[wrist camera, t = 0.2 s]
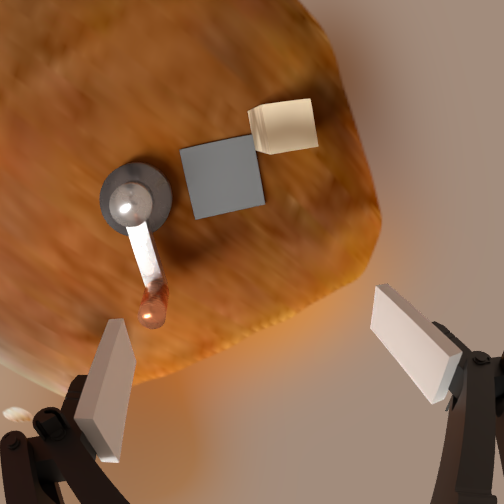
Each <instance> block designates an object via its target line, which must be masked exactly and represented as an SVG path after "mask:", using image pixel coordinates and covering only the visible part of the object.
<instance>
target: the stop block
mask: <svg viewBox="0 0 504 504" xmlns="http://www.w3.org/2000/svg"><path fill="white" fill-rule="evenodd" d="M248 116H249V121H250V127H251V132H252V135H253V140H254V146H255V150H256V151H260V152H263V153H267V154H276V153H282V152H287V151H293V150H300V149H306V148H312V147H318V141H317V135H316V128H315V122H314V116H313V111H312V105H311V99H301V100H292V101H284V102H277V103H270V104H263V105H260V106H258V107H255V108H253V109H251V110H249V111H248Z"/></svg>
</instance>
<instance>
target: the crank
mask: <svg viewBox="0 0 504 504" xmlns="http://www.w3.org/2000/svg"><path fill="white" fill-rule="evenodd" d="M154 203H155V200H154V195H153V192H152V190H151V189H150V188H149V186H147V185H146V184H145V183H143V182H140V181H135V180H133V181H128V182H126V183H124V184H122V185H121V186H119V187H118V188H117V189H116V190H115V191H114V192H113V193H112V195H111V198H110V202H109V209H110V212H111V215H112V217H113V218H114V219H115V221H116V222H118V223H119V224H121V225H122V226H125V227H126V228H127V231H128V234H129V238H130V241H131V244H132V247H133V251H134V254H135V257H136V260H137V263H138V266H139V269H140V272H141V275H142V278H143V281H144V284H145V287H146V288H145V291H144V295H143V298H142V301H141V305H140V308H139V312H138V319H139V322H140V323H141V324H142V325H143V326H144V327H146V328H149V329H156V328H159V327H161V326H162V325H163V324H164V322H165V318H166V311H167V303H168V297H169V289H168V287H167V279H166V276H165V273H164V270H163V267H162V263H161V260H160V257H159V253H158V250H157V247H156V243H155V240H154V236H153V233H152V229H151V226H150V222H149V219H148V217H149V216H150V214H151V212H152V210H153V208H154Z"/></svg>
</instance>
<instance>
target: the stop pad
mask: <svg viewBox="0 0 504 504" xmlns="http://www.w3.org/2000/svg"><path fill="white" fill-rule="evenodd" d="M180 155H181V160H182V164H183V169H184V173H185V177H186V182H187V186H188V191H189V195H190V199H191V203H192V208H193V212H194V216H195V220H197V219H201V218H206V217H210V216H214V215H219V214H223V213H227V212H232V211H236V210H241V209H246V208H250V207H255V206H259V205H264V204H265V201H264V195H263V189H262V184H261V178H260V173H259V167H258V162H257V157H256V151H255V146H254V140H253V135H247V136H241V137H236V138H231V139H226V140H221V141H216V142H212V143H207V144H202V145H198V146H194V147H189V148H185V149H181V150H180Z"/></svg>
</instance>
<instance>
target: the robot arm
mask: <svg viewBox="0 0 504 504" xmlns="http://www.w3.org/2000/svg"><path fill="white" fill-rule="evenodd" d="M370 328H371V329H372V331H373V332H374V333H375V334H376V335H377V337H378V338H379V339H380V340H381V342H382V343H383V344H384V345H385V347H386V348H387V349H388V350H389V351H390V353H391V354H392V355H393V356H394V358H395V359H396V360H397V361H398V363H399V364H400V365H401V366H402V367H403V369H404V370H405V371H406V372H407V374H408V375H409V376H410V378H411V379H412V380H413V381H414V383H415V384H416V385H417V386H418V388H419V389H420V390H421V391H422V393H423V394H424V395H425V397H426V398H427V399H428V400H429V402H430V403H431V404H434V403H436V402H439V401H441V400H443V399H445V396H446V394H447V391H448V389H449V390H450V392H451V393H452V394H453V395H452V397H451V399H450V401H449V403H448V406H447V408H446V410H445V411H448V409H449V416H448V422H447V429H446V435H445V441H444V447H443V452H442V457H441V462H440V467H439V471H438V476H437V480H436V484H435V488H434V492H433V496H432V500H431V503H430V504H497V497H496V496H495V495H492V494H491V489H492V480H493V469H494V455H495V435H496V440H497V444H498V449H499V454H500V459H501V464H502V469H503V475H504V352H503V354H502V357H495V358H491V357H490V356H489V355H488V354H486V353H484V352H481V351H473V352H471V350H470V349H469V348H467V347H466V346H465V345H464V344H463V343H462V342H461V341H460V340H459V339H458V338H457V337H455V336H454V335H453V334H452V333H450V331H449V330H448V329H447V328H446V327H445V326H443V325H441V324H439V323H437V322H435V321H434V322H430V321H429V320H428V319H427V318H426V317H425V316H424V315H423V314H422V313H420V312H419V311H418V310H417V309H416V308H415V307H414V306H413V305H412V304H410V303H409V302H408V301H407V300H406V299H405V298H404V297H402V296H401V295H400V294H399V293H398V292H397V291H396V290H395V289H393V288H392V287H391V286H390V285H389V284H382V285H376V289H375V297H374V305H373V313H372V320H371V326H370ZM135 366H136V359H135V356H134V353H133V350H132V346H131V343H130V340H129V337H128V333H127V330H126V326H125V323H124V319H123V318H122V319H109V321H108V323H107V326H106V328H105V331H104V334H103V336H102V339H101V341H100V344H99V346H98V349H97V352H96V354H95V357H94V360H93V362H92V365H91V368H90V371H89V373H88V375H78V376H77V377H76V378H75V379H74V380H73V381H72V382H71V384H70V387H69V389H68V393H67V394H66V397H65V400H64V402H63V405H62V408H61V411H60V410H59V409H58V408H55V407H47V408H44V409H42V410H40V411H39V412H38V413H37V414H36V415H35V416H34V419H33V427H34V429H35V430H36V431H37V433H38V434H39V436H38V437H32V438H26V436H25V435H24V434H23V433H22V432H20V431H11V432H9V433H7V434H5V435H4V436H3V438H2V440H1V441H0V456H1V467H2V476H3V485H4V492H5V498H6V504H65V503H64V501H63V497H62V494H61V490H60V487H59V484H58V482H61V481H67V483H68V485H69V486H70V488H71V489H72V491H73V492H74V494H75V495H76V497H77V498H78V500H79V501H80V503H81V504H130V503H129V502H128V501H127V500H126V499H125V498H124V496H123V495H122V494H121V493H120V492H119V491H118V489H117V488H116V487H115V486H114V485H113V484H112V482H111V481H110V480H109V479H108V478H107V476H106V475H105V474H104V472H103V471H102V470H101V468H100V467H99V466H98V464H97V463H96V462H95V459H96V454H97V456H98V457H99V458H100V460H101V461H102V462H119V460H120V453H121V446H122V439H123V432H124V426H125V420H126V414H127V408H128V402H129V397H130V391H131V386H132V381H133V376H134V371H135Z"/></svg>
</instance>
